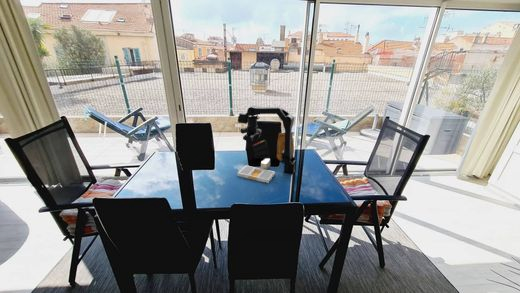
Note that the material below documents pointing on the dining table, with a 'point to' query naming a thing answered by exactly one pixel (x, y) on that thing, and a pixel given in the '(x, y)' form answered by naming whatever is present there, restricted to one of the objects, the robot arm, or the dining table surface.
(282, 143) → the coffee package
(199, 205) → the dining table surface
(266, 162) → the grey block
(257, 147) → the magazine
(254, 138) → the robot arm
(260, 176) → the rack
